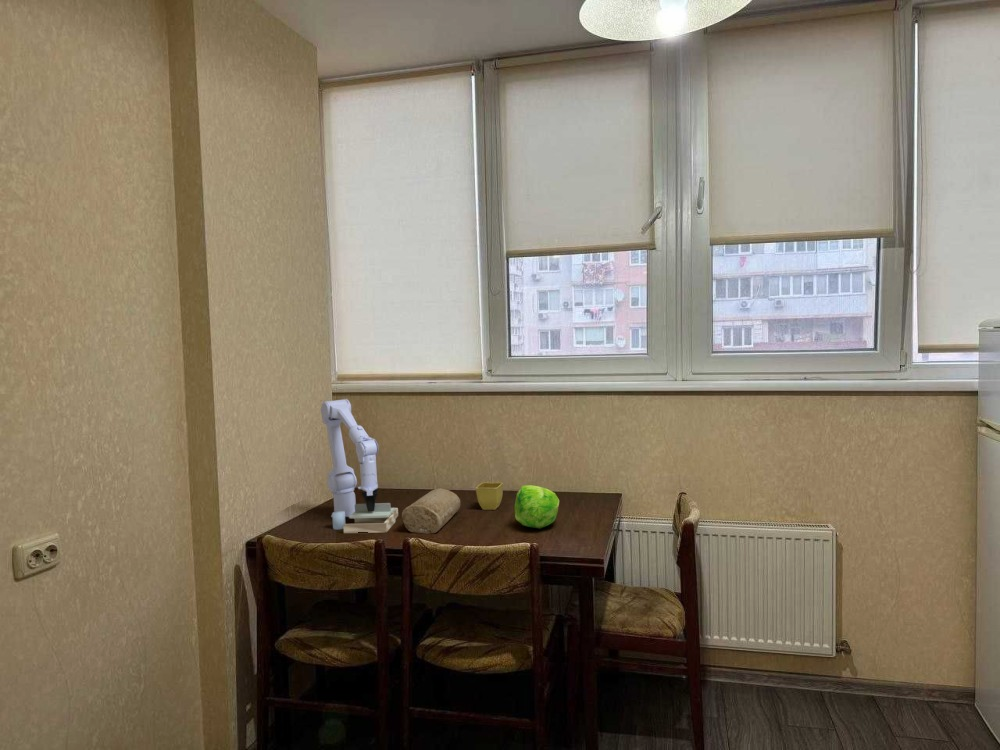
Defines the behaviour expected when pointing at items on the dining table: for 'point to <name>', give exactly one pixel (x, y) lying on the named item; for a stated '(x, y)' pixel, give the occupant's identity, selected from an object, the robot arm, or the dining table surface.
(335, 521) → the pale blue cylinder
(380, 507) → the lid
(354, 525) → the frame
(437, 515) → the core sample
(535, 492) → the lettuce
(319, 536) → the dining table surface
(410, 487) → the dining table surface
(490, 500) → the flower pot
